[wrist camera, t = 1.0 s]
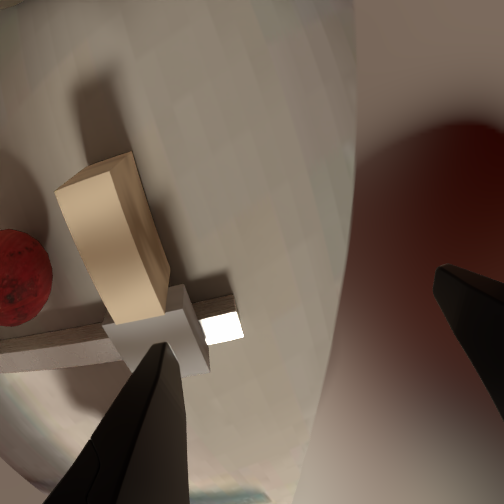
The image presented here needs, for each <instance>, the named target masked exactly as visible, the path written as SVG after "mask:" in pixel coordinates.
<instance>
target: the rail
mask: <svg viewBox="0 0 504 504" xmlns="http://www.w3.org/2000/svg"><path fill="white" fill-rule="evenodd" d="M192 306H193V309H194V312H195V314H196V317H197V319H198V322H199V324H200V327H201V329H202V332H203V334H204V337H205V339H206V342H207V344H208V345H209V344H214V343H218V342H223V341H227V340H232V339H236V338H241V337H243V333H242V327H241V322H240V317H239V314H238V310H237V307H236V303H235V300H234V296H233V294H231V295H226V296H222V297H218V298H214V299H209V300H205V301H200V302H196V303H192ZM102 323H103V322H101V323H96V324H91V325H86V326H80V327H75V328H70V329H64V330H59V331H53V332H48V333H42V334H36V335H30V336H25V337H19V338H12V339H6V340H0V373H14V372H28V371H39V370H50V369H59V368H68V367H77V366H85V365H93V364H100V363H107V362H114V361H121V360H123V359H122V357H121V356H120V354H119V353H118V351H117V350H116V348H115V346H114V345H113V343H112V342H111V340H110V338H109V337H108V335H107V333H106V332H105V330H104V328H103V327H102Z"/></svg>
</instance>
